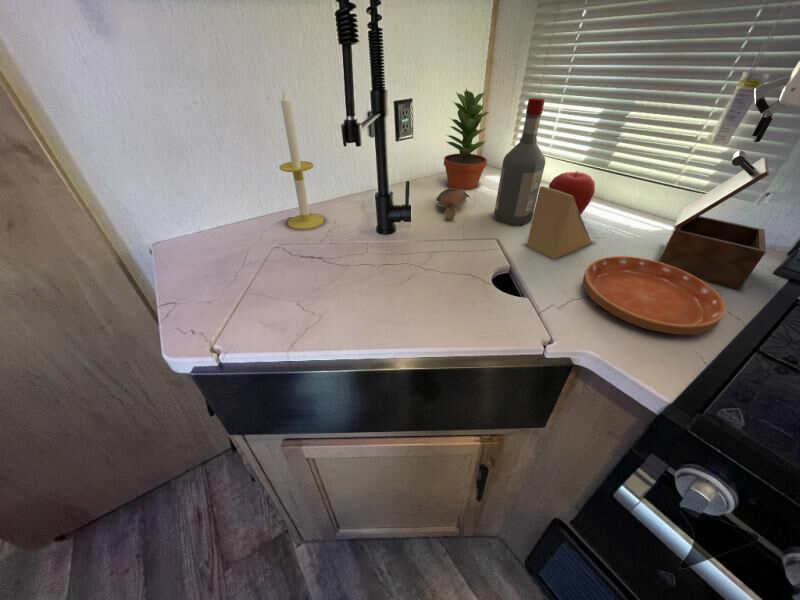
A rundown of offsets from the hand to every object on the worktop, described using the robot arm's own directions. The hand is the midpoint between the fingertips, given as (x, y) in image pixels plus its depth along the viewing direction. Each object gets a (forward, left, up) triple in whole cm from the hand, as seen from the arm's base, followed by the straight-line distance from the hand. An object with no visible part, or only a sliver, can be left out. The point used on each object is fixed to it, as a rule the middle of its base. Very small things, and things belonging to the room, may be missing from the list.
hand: (790, 144), depth 62 cm
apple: (+36, -8, -26) cm, 45 cm away
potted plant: (+74, -15, -26) cm, 80 cm away
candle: (+91, +41, -26) cm, 103 cm away
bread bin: (+3, 0, -26) cm, 26 cm away
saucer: (+10, +23, -26) cm, 36 cm away
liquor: (+47, +2, -26) cm, 54 cm away
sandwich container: (+31, +9, -26) cm, 41 cm away
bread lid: (+5, 0, -11) cm, 12 cm away
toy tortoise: (+65, +6, -26) cm, 70 cm away
